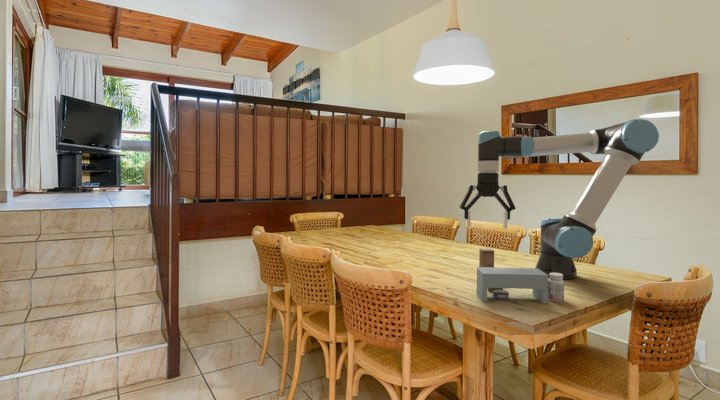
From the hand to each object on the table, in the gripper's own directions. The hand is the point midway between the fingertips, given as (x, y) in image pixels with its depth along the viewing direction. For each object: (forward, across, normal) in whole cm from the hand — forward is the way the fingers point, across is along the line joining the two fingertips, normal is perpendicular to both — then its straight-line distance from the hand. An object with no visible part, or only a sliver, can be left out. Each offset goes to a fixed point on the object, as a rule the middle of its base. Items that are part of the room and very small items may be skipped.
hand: (486, 228), depth 147 cm
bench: (+20, -3, +22) cm, 30 cm away
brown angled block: (+20, 0, +6) cm, 21 cm away
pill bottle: (+20, -18, +22) cm, 35 cm away
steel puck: (+20, 0, +21) cm, 29 cm away
